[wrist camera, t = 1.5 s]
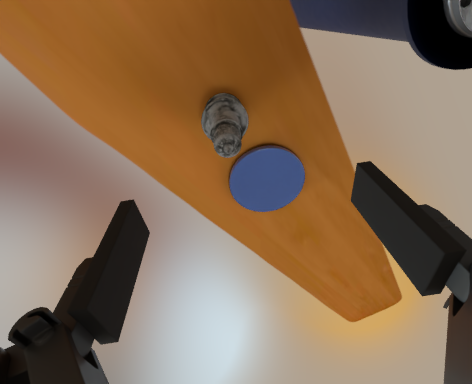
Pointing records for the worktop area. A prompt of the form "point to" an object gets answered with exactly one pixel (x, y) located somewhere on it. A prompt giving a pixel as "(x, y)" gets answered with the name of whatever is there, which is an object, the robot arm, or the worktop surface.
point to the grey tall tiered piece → (225, 123)
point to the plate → (266, 178)
